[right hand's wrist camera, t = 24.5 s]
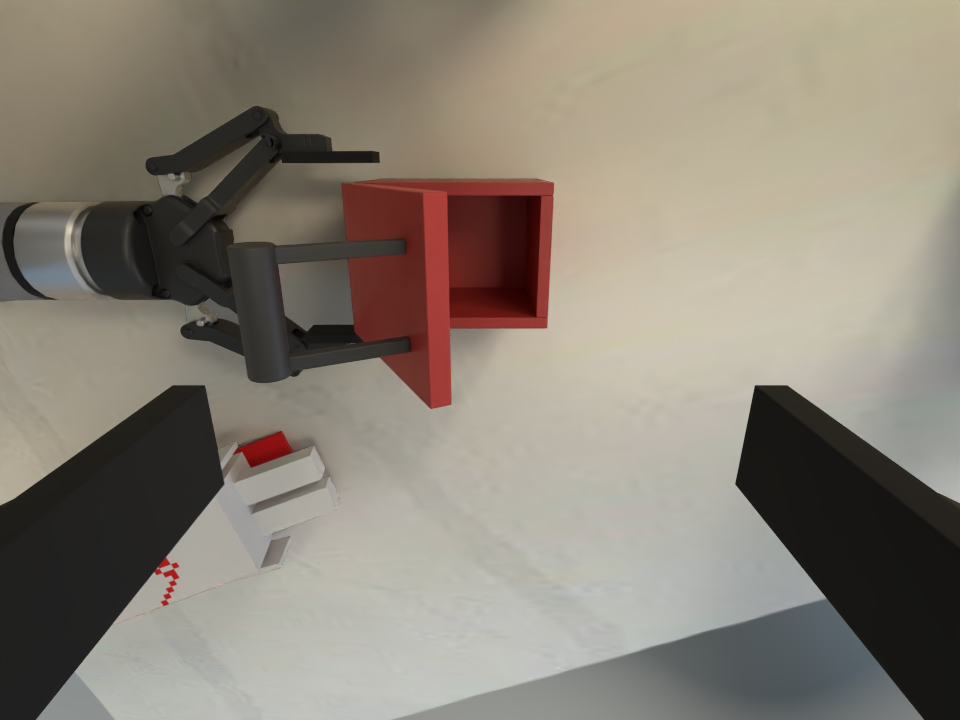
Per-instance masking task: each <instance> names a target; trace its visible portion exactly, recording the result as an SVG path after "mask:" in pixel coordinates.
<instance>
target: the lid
mask: <svg viewBox="0 0 960 720" xmlns="http://www.w3.org/2000/svg"><path fill="white" fill-rule="evenodd" d="M342 194H343V206H344V217H345V229H346V240H347V241H345V242H329V243H313V244H297V245H281V246H275V244H273V243H270V242H245V243H236V244H231V245H229V246H227V254H228V260H229V266H230V272H231V278H232V284H233V290H234V296H235V302H236V308H237V314H238V320H239V326H240V332H241V338H242V344H243V350H244V356H245V362H246V368H247V374H248V378H249V380H251V381H253V382H257V383H270V382H276V381H280V380H283V379H285V378H287V377H289V376H290V375H291V374H292V371H297V370H304V369H310V368H316V367H322V366H328V365H334V364H340V363H346V362H353V361H359V360H365V359H371V358H377V357H380V358H381V359H382V360H383V361H384V362H385V363H386V364H387V365H388V366H389V367H390V368H391V369H392V370H393V371H394V372H395V373H396V374H397V375H398V376H399V377H400V378H401V379H402V380H403V381H404V382H405V383H406V384H407V385H408V386H409V387H410V389H411V390H412V391H413V392H414V393H415V394H416V395H417V396H418V397H419V398H420V399H421V400H422V401H423V402H424V403H425V404H426V405H427V406H428V407H429V408H430V409H433V408H437V407H442V406H447V405H451V362H450V313H449V264H448V216H447V192H443V191H434V190H424V189H414V188H404V187H394V186H384V185H375V184H365V183H342ZM337 259H348V263H349V274H350V286H351V297H352V309H353V320H354V332H355V333H356V334H357V335H358V336H359V337H360V338H361V339H362V340H363V341H364V342H362V343H355V344H348V345H342V346H335V347H328V348H321V349H315V350H308V351H301V352H295V353H290V351H289V343H288V336H287V328H286V321H285V314H284V306H283V299H282V291H281V284H280V276H279V269H278V264H285V263H298V262H311V261H324V260H337Z"/></svg>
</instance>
